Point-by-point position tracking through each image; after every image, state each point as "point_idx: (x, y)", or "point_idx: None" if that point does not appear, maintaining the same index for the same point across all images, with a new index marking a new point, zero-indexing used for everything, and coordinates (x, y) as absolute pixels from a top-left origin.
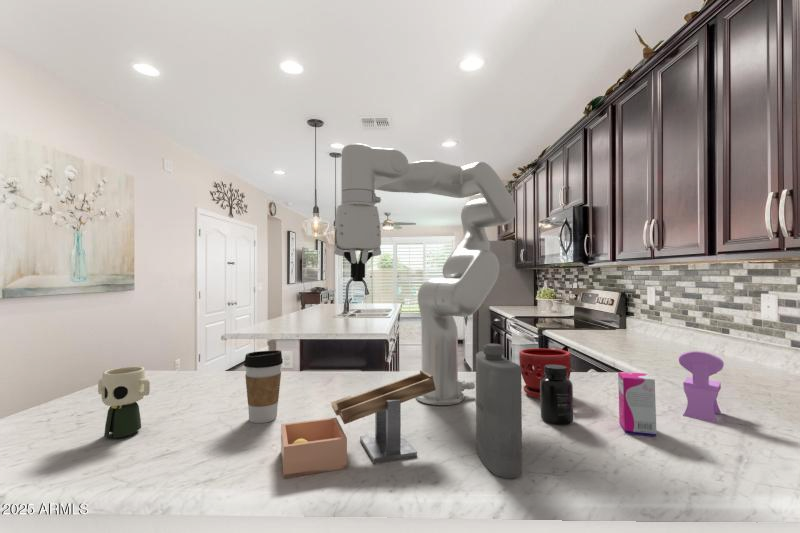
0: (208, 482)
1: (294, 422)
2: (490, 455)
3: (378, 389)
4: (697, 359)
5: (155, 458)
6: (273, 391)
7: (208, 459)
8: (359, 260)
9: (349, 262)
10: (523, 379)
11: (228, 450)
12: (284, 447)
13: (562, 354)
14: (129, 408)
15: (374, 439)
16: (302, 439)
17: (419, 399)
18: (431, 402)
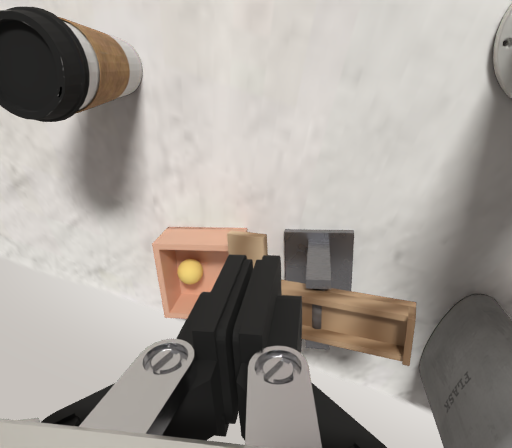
0: (100, 274)
1: (171, 244)
2: (424, 380)
3: (305, 301)
4: None
5: (12, 192)
6: (109, 98)
7: (79, 218)
8: (245, 399)
9: (150, 358)
10: None
11: (96, 198)
12: (165, 317)
13: None
14: None
15: (303, 249)
16: (188, 278)
17: (494, 57)
18: (509, 95)
